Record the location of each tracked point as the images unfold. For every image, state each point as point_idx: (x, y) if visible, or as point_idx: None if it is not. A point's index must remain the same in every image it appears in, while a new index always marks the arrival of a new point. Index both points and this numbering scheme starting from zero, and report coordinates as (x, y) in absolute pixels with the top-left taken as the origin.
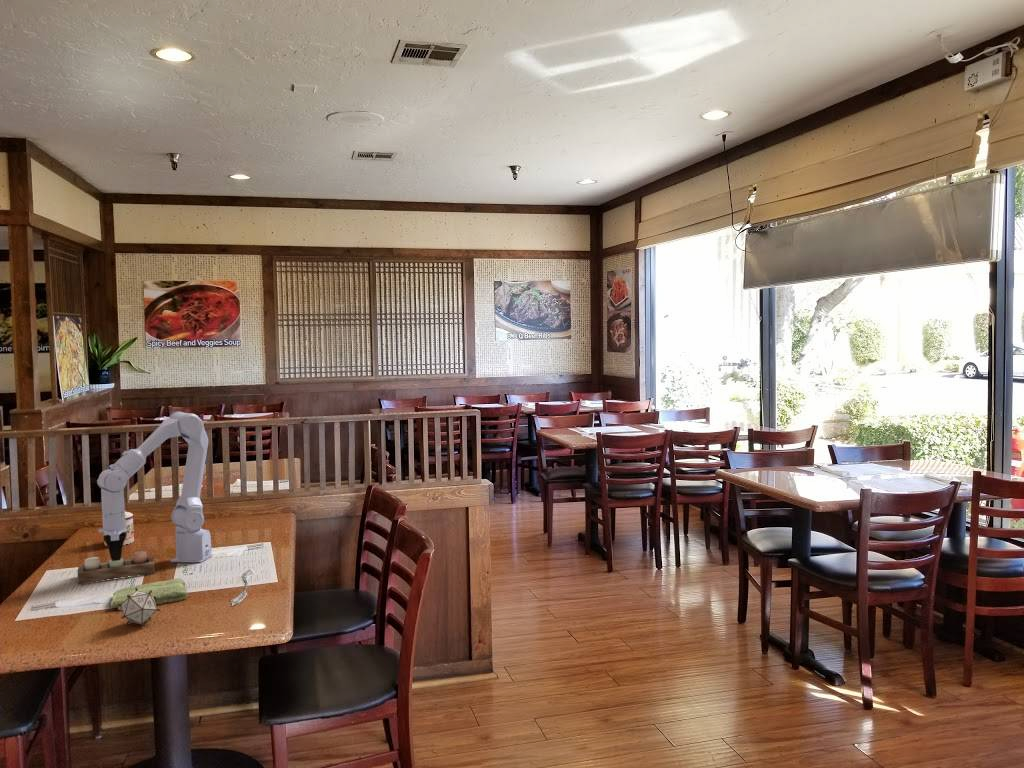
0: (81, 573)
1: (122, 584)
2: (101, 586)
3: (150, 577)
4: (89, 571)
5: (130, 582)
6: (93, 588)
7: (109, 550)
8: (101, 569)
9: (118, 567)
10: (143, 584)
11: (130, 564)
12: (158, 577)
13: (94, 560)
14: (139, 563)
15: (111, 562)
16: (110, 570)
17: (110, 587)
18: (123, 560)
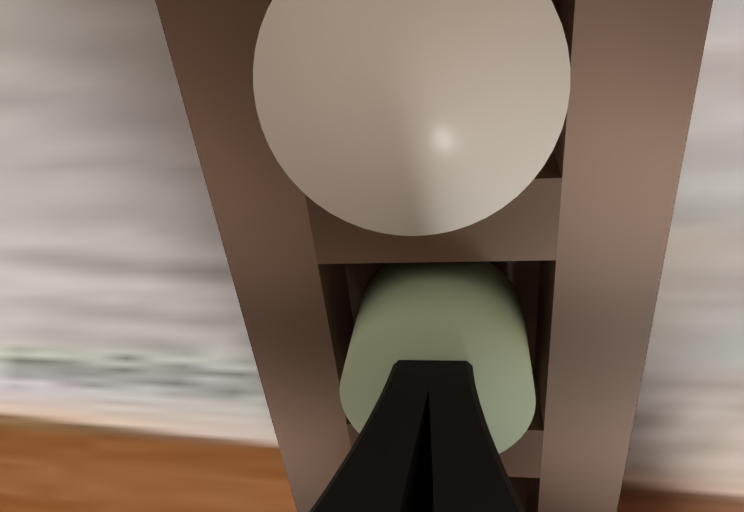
0: None
1: (101, 311)
2: (65, 143)
3: (246, 474)
4: (202, 24)
5: (147, 362)
6: (3, 65)
7: (318, 500)
8: (259, 194)
9: (284, 367)
10: None
11: None
12: (228, 507)
13: (279, 158)
14: (531, 491)
15: (360, 343)
16: (244, 283)
17: (24, 224)
18: (601, 420)
